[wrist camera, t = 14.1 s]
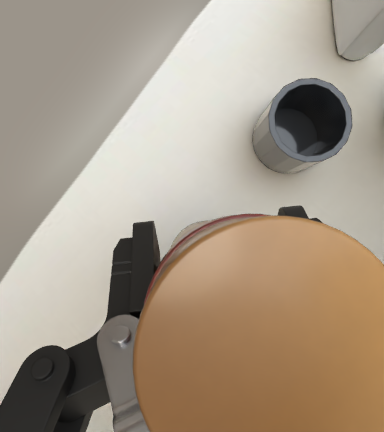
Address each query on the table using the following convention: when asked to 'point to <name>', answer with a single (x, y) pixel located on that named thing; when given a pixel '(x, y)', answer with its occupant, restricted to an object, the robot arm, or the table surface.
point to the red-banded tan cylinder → (262, 330)
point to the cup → (302, 126)
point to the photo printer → (358, 27)
